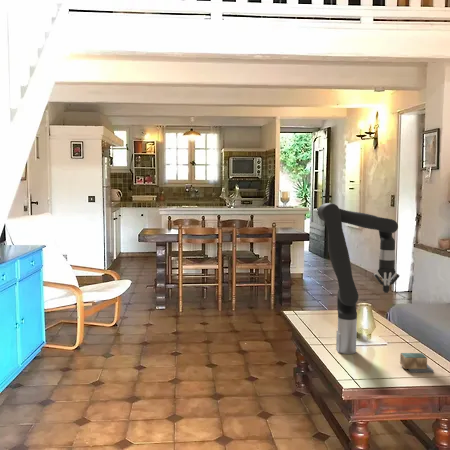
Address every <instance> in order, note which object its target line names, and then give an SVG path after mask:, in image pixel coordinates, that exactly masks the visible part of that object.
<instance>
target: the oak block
mask: <svg viewBox="0 0 450 450" xmlns="http://www.w3.org/2000/svg"><path fill="white" fill-rule="evenodd" d="M399 358H400V359H399V360H400V361H399V363H400V365H401V366H402V368H403V369H404V370H405V369H406V370H407V369H427V364H428V357H427V356H426V355H425V354H424V353H423V352H401V353H400V356H399Z"/></svg>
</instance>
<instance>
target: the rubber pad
mask: <svg viewBox="0 0 450 450" xmlns="http://www.w3.org/2000/svg"><path fill="white" fill-rule="evenodd" d="M408 371H409V372H410V373H419V374H420V373H421V374H422V373H424V374H426V373H428V374H429V373H430V374H434V373H435V371H434V369H433V368H432V367H431V366H430V365H428V363H427V369H408Z"/></svg>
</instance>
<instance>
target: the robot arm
mask: <svg viewBox="0 0 450 450" xmlns="http://www.w3.org/2000/svg"><path fill="white" fill-rule="evenodd" d="M317 216H318V218H319V219H320V220H321V221H323V222H324V223H325V225H326V229H327V230H326V231H327V235H328V236H327V237H328V240H327V248H328V249H327V250H328V255H329V260H330V263H331V266H332V269H333V272H334V273H335V276H336V279H337V282H338V283H337V284H338V291H337V297H336V298H337V299H336V300H337V301H336V302H337V330H336V338H335V339H336V342H335V343H336V345H335V346H336V347H335V350H336V351H337V353H338V354H339V353H340V354H343V355H352V354H356V353H357V326H358V325H357V324H358V311H357V303H358V301H359V292H358V290H357V287H356V284H355V281H354V278H353V272H352V264H351V258H350V254H349V248H348V245H347V242H346V238H345V233H344V229H343V223H344V224H348V225H351V226H352V225H353V226H355V227H360V228H362V229H368V230H375V231H378V234H379V239H380V242H379V243H380V245H379V253H378V254H379V256H378V269H377V272H375V273H373V276H374V278H375V279H376V280H377V282H378V283H379V284H380V285H382V292H383V293H384V294H389V292H390V286H391V285H394V283H395V282H396V281H397V280H398V279H399V278H400V274H399V273H397V271H396V265H395V264H396V240H395V238H394V237H393V234H394V233H396V232H397V231H398V229H399V224H398V222H397V220H395V219H391V218H388V217H380V216H377V215H373V214H369V213H364V212H360V211H359V212H358V211H351V210H347V209H342V208H340V207H339V206H338V205H337V204H336V203H332V202H330V203H329V202H327V203H326V202H325V203H323V204H321V205H320V206H319V207H318V208H317ZM380 277H381V278H380Z"/></svg>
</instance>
